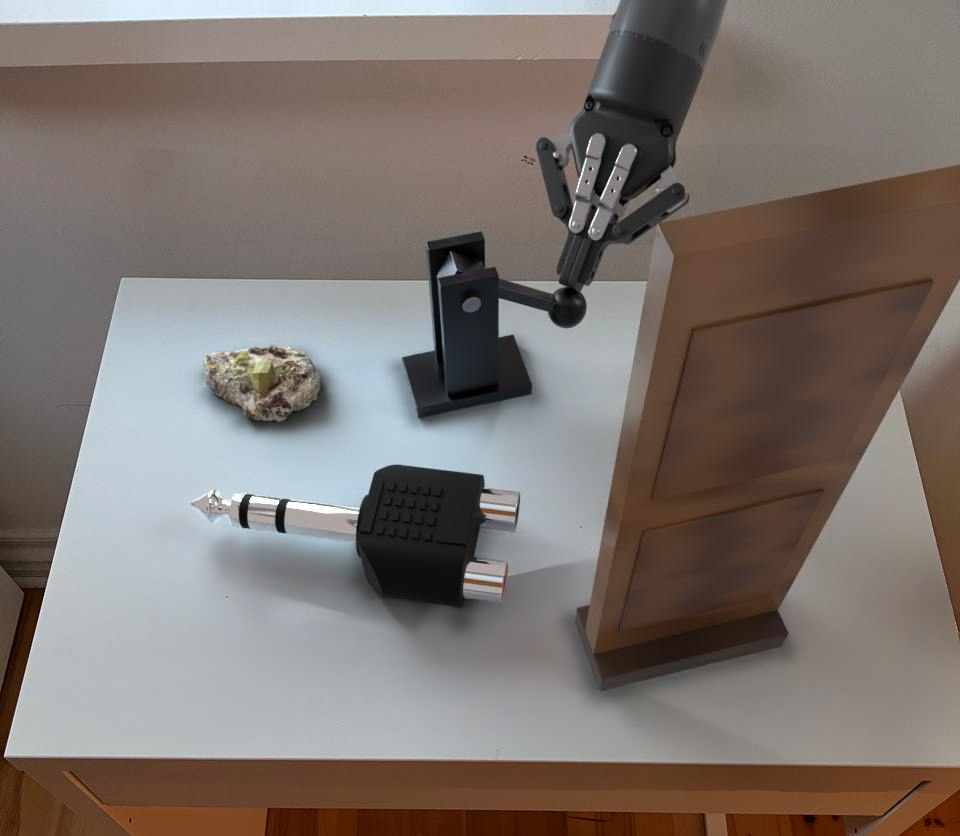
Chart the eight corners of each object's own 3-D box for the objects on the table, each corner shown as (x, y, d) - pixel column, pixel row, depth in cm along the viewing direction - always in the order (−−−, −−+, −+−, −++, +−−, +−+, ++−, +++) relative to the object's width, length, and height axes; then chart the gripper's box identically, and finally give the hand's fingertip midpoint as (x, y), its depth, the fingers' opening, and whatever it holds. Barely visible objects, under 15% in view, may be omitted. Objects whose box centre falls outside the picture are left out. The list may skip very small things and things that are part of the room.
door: (750, 578, 70) (961, 128, 38) (782, 646, 68) (1036, 223, 36) (574, 620, 69) (640, 189, 37) (599, 691, 66) (693, 293, 34)
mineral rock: (336, 340, 79) (298, 388, 74) (341, 385, 82) (304, 435, 77) (222, 320, 81) (176, 365, 76) (230, 364, 84) (187, 411, 79)
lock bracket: (513, 344, 82) (515, 219, 70) (532, 394, 79) (537, 272, 68) (402, 366, 81) (387, 243, 69) (417, 418, 78) (404, 299, 67)
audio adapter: (500, 589, 64) (156, 543, 66) (500, 625, 69) (179, 581, 71) (523, 464, 69) (202, 425, 71) (521, 506, 74) (220, 469, 76)
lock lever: (566, 313, 78) (587, 283, 76) (577, 340, 77) (599, 310, 75) (432, 275, 71) (451, 241, 69) (441, 304, 70) (461, 270, 68)
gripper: (747, 91, 70) (653, 320, 76) (589, 42, 73) (512, 266, 79) (736, 57, 63) (634, 312, 69) (562, 4, 66) (480, 252, 72)
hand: (569, 287), depth 74 cm, fingers closed
